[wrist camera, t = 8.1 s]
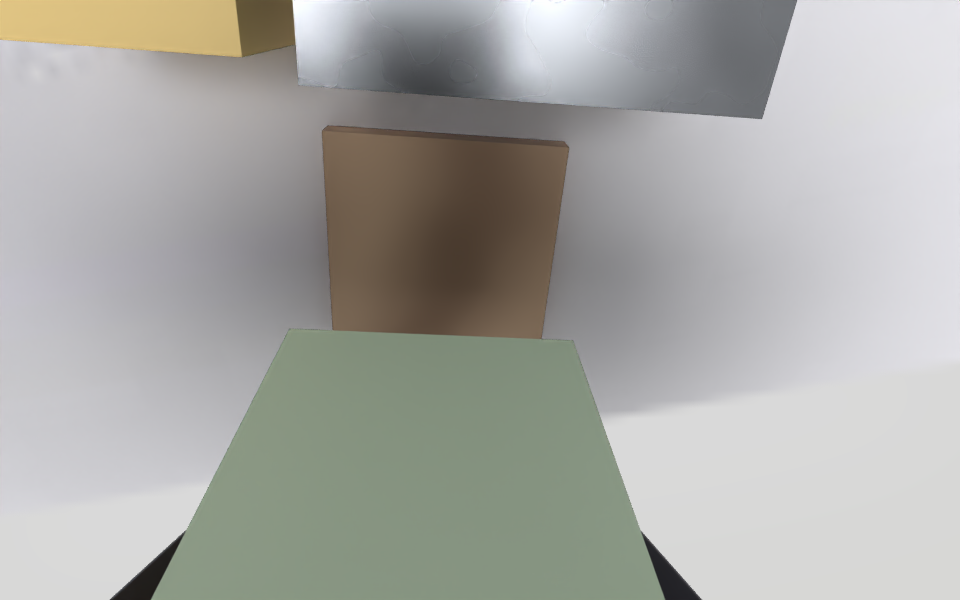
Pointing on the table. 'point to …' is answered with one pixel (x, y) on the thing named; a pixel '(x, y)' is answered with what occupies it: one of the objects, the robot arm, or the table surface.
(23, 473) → the table surface
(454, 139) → the walnut pad
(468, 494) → the green part
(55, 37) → the ochre part
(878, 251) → the table surface
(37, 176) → the table surface
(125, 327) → the table surface
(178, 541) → the robot arm
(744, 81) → the block
